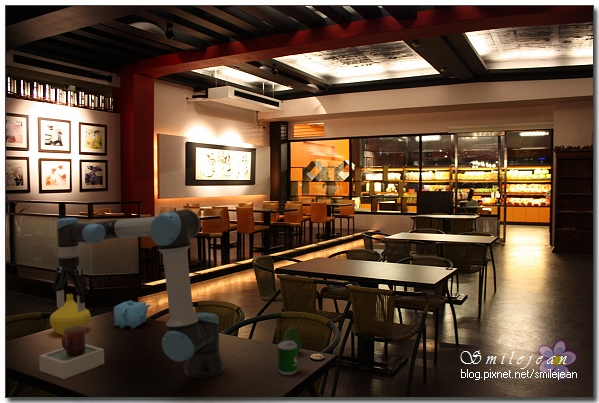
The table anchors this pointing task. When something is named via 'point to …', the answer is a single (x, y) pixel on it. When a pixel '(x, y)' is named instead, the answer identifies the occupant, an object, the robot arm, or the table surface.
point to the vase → (69, 316)
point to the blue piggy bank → (130, 314)
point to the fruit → (293, 337)
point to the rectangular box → (71, 362)
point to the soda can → (287, 357)
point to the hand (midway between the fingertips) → (70, 308)
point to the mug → (74, 340)
